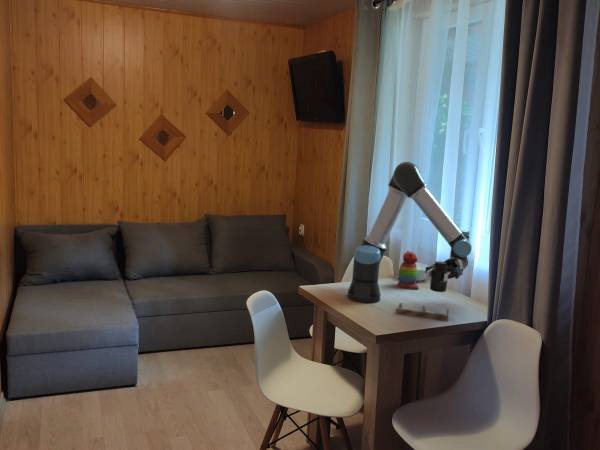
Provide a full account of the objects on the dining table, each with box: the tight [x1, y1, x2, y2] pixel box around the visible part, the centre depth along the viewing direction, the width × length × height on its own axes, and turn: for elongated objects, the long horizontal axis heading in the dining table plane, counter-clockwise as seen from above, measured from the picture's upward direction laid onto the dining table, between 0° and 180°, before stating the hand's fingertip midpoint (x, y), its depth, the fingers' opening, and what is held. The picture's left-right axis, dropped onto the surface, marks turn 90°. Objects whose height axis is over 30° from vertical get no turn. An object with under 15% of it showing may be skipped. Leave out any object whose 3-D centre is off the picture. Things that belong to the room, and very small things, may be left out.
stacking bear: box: [397, 250, 420, 291], centre depth 294 cm, size 11×10×18 cm
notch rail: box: [396, 302, 450, 321], centre depth 251 cm, size 21×10×2 cm, turn 75°
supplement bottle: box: [429, 261, 448, 293], centre depth 248 cm, size 7×7×12 cm
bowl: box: [415, 262, 430, 282], centre depth 311 cm, size 16×16×7 cm
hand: (436, 276), depth 243 cm, fingers closed on supplement bottle, 7 cm apart
